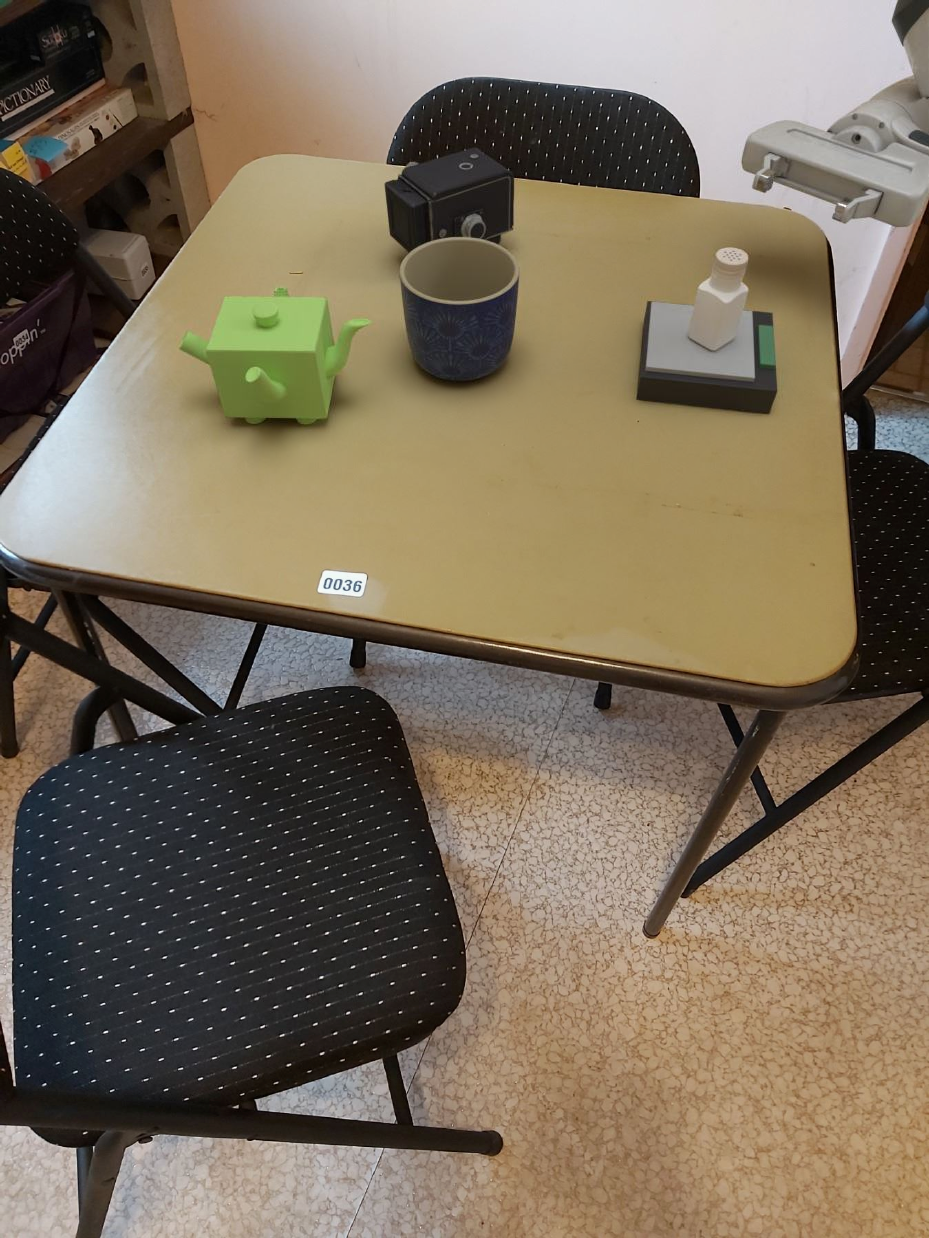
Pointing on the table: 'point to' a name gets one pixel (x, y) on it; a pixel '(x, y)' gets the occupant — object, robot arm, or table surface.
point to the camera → (451, 200)
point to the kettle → (274, 356)
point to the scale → (707, 362)
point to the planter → (459, 306)
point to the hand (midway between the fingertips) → (798, 198)
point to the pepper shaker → (720, 300)
